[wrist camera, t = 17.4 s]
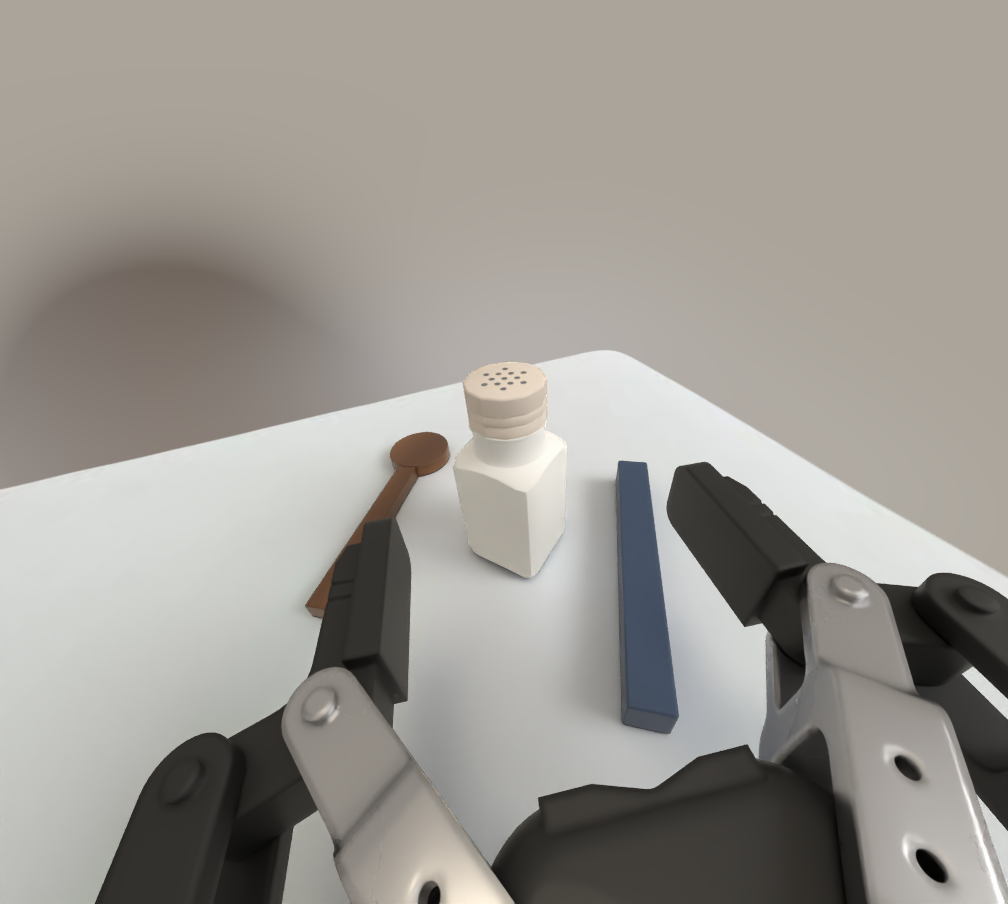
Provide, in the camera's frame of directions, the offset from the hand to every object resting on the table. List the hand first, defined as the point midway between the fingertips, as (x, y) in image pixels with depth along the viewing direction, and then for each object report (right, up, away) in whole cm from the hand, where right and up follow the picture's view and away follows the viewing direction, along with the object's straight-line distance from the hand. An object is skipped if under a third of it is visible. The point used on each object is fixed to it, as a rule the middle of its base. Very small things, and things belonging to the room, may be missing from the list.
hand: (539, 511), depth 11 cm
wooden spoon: (-8, -2, +12) cm, 14 cm away
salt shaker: (0, -3, +9) cm, 10 cm away
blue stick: (+5, -4, +7) cm, 10 cm away
